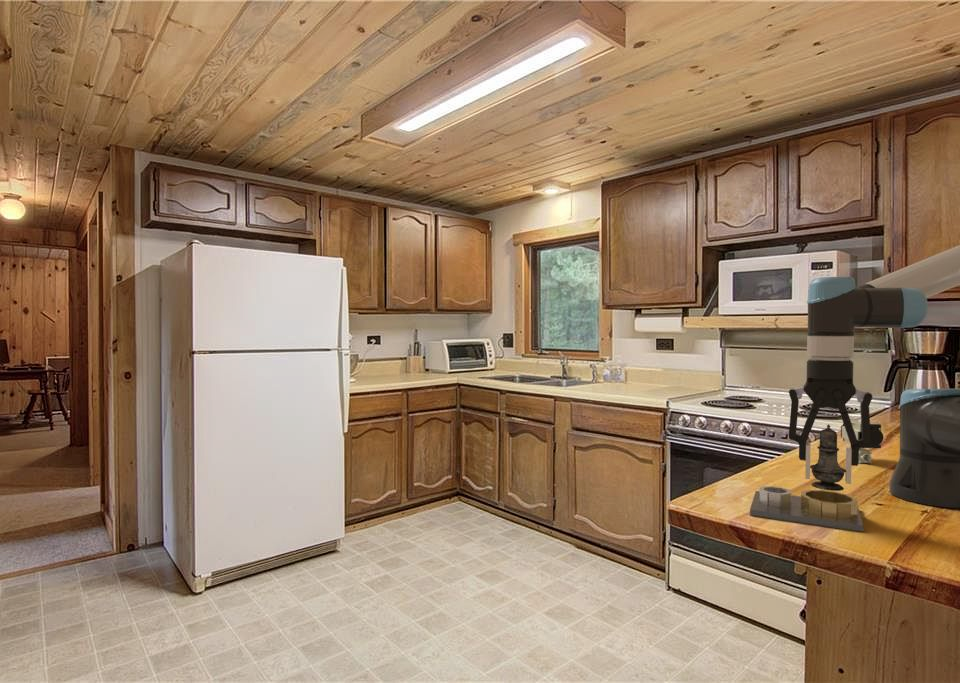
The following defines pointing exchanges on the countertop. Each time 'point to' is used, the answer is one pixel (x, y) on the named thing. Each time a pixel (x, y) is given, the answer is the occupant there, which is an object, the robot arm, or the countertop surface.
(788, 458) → the countertop surface
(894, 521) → the countertop surface
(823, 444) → the salt shaker
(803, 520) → the plate
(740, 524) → the countertop surface
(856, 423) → the pneumatic valve
